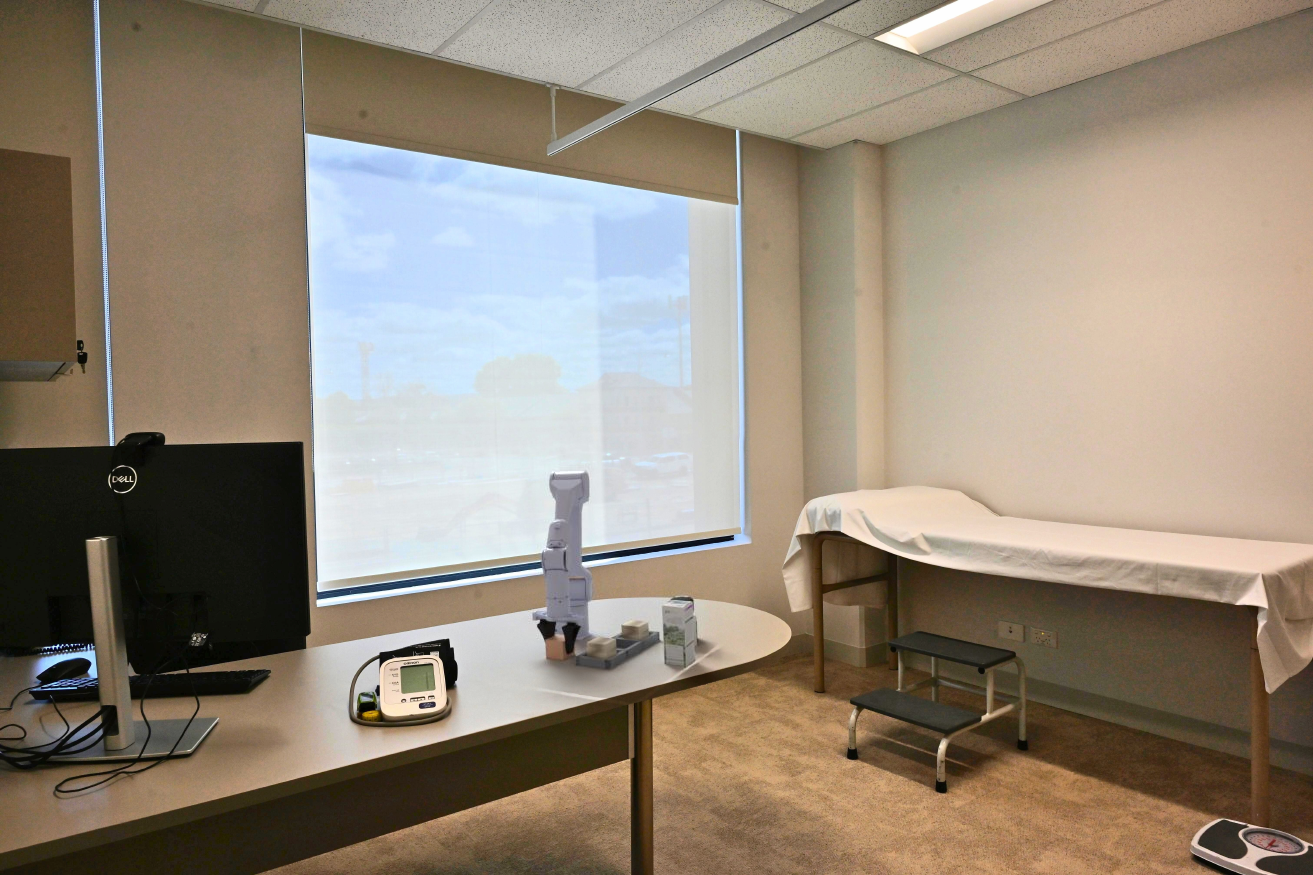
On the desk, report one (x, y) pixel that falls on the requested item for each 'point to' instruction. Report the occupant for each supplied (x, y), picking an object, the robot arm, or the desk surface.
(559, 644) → the terracotta block
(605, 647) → the ash block near
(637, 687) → the desk surface
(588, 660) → the organiser tray
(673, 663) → the syrup box
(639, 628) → the ash block far
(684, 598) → the medicine bottle
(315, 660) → the desk surface
